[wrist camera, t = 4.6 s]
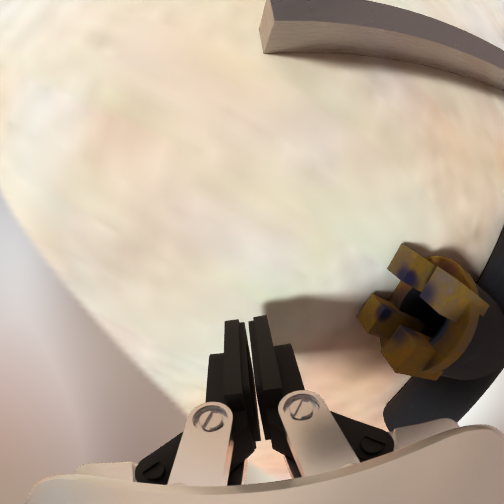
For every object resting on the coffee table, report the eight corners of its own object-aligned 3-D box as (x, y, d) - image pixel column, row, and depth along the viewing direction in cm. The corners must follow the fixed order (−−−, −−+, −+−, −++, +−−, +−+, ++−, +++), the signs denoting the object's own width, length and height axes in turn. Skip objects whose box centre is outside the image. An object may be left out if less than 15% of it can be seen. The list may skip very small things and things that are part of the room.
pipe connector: (317, 462, 10) (524, 151, 5) (295, 385, 14) (439, 141, 10) (440, 450, 12) (568, 267, 8) (412, 403, 17) (518, 240, 13)
